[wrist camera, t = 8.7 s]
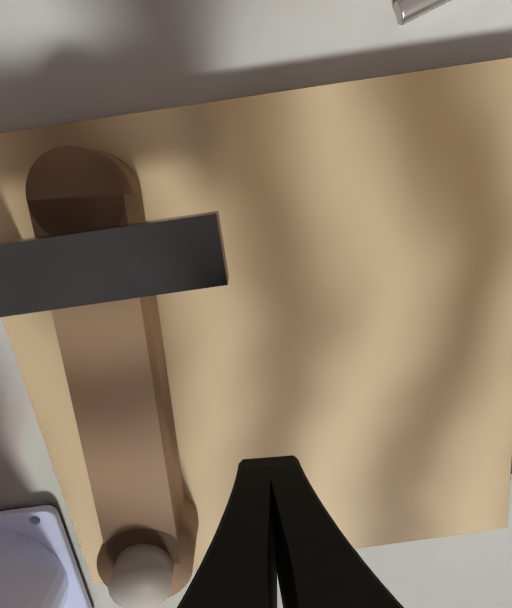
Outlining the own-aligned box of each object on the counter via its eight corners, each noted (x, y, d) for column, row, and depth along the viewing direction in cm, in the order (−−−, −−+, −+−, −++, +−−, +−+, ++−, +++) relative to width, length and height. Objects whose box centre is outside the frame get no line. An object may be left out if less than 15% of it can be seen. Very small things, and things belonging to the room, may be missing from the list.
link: (202, 551, 20) (195, 621, 17) (121, 557, 20) (97, 629, 16) (149, 147, 14) (122, 138, 11) (36, 154, 14) (-23, 147, 11)
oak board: (100, 565, 21) (93, 583, 20) (-40, 144, 15) (-59, 141, 14) (495, 512, 21) (507, 528, 20) (516, 62, 15) (535, 53, 14)
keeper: (12, 283, 17) (-93, 330, 12) (-3, 235, 16) (-122, 261, 11) (232, 252, 17) (227, 284, 11) (224, 202, 16) (216, 213, 11)
